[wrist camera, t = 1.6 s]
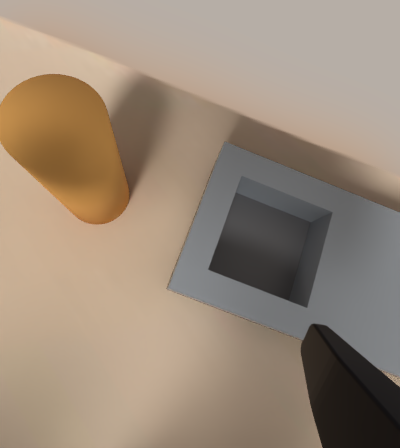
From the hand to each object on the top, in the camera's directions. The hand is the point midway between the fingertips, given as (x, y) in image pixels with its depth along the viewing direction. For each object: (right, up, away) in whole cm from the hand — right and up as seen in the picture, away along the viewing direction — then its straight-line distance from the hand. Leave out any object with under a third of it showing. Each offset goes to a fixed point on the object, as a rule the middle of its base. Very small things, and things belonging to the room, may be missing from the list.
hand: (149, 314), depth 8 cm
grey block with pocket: (+10, -1, +15) cm, 18 cm away
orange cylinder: (-6, +5, +14) cm, 16 cm away
